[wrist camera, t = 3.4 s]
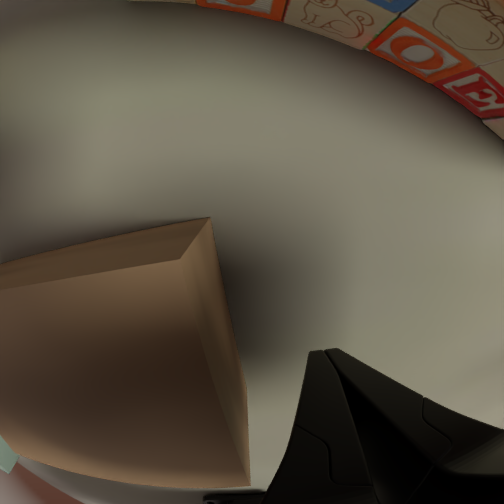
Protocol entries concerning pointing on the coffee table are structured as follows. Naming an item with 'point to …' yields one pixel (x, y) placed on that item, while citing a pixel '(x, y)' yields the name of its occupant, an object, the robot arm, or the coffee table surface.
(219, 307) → the walnut brick
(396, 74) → the coffee table surface
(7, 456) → the board
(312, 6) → the stack of blocks
